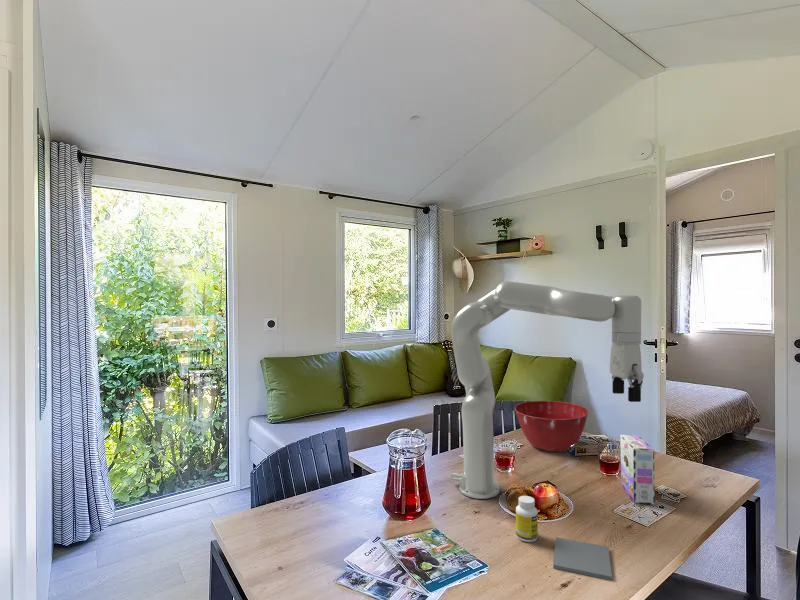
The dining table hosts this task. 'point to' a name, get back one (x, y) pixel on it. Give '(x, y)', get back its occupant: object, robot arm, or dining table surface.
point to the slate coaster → (582, 558)
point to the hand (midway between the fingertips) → (626, 397)
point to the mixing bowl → (551, 423)
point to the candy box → (637, 469)
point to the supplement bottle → (526, 519)
